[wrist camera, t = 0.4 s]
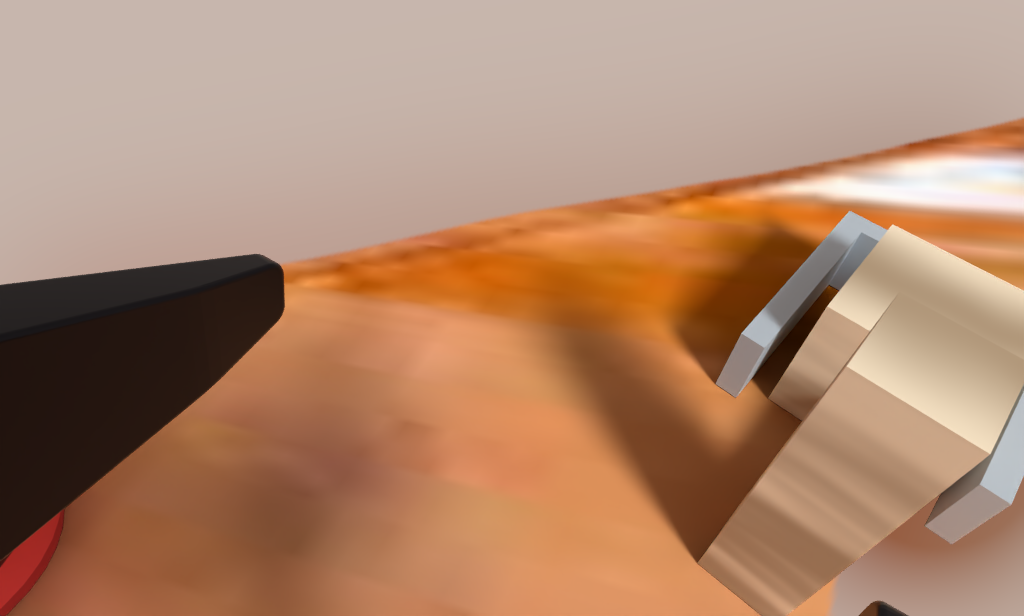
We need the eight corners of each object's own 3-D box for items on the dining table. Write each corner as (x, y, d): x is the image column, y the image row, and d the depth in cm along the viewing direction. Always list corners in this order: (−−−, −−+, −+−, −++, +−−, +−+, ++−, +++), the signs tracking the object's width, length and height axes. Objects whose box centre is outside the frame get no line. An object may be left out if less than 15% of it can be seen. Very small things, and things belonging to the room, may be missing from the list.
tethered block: (815, 659, 22) (1072, 504, 13) (661, 534, 24) (783, 327, 15) (959, 396, 29) (1191, 173, 20) (829, 319, 31) (981, 89, 22)
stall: (951, 544, 24) (1011, 504, 22) (715, 383, 28) (741, 333, 26) (1028, 380, 29) (1085, 331, 27) (818, 263, 33) (849, 210, 31)
